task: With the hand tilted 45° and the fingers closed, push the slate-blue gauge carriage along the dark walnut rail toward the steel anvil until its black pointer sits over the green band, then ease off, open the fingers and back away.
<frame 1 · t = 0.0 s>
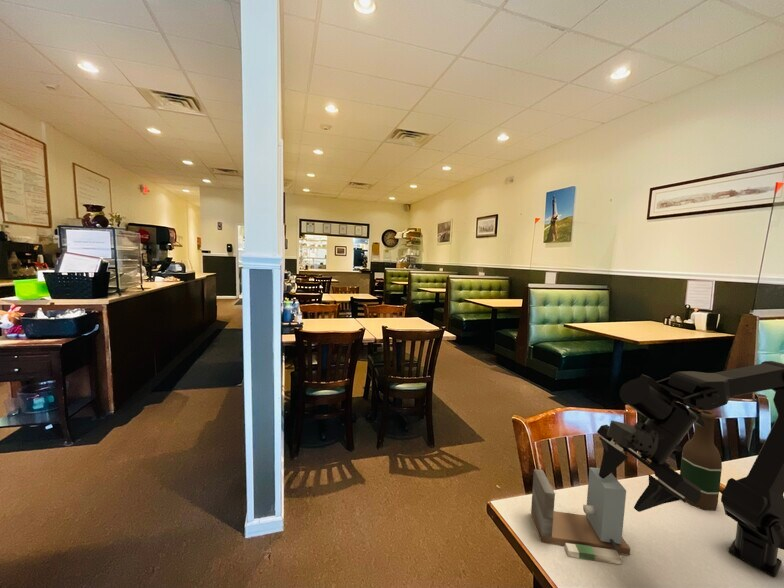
hand: (617, 492, 63), 15 cm above the table, tool tilted 35°, fingers open, 9 cm apart
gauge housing: (575, 532, 71), on the table
beer bottle: (696, 500, 82), on the table
gauge carriage: (602, 506, 68), point 8 cm above the table, slide at 0.0 cm
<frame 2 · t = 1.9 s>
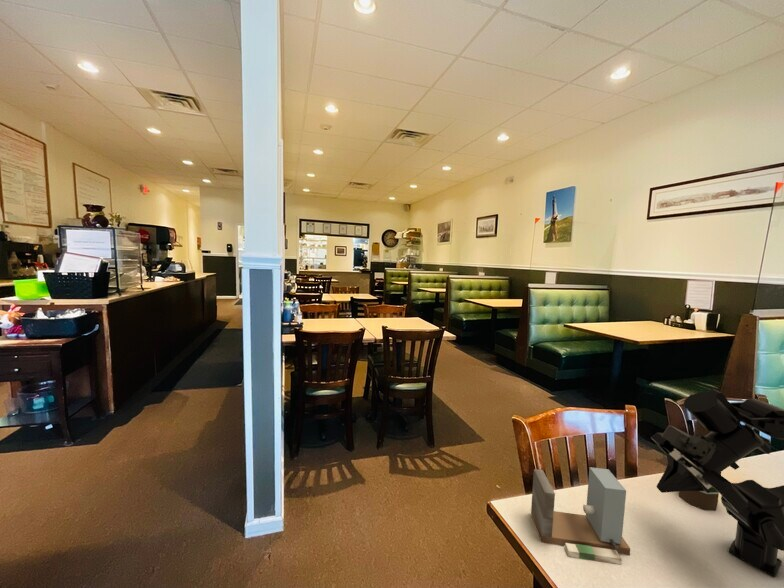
hand: (658, 489, 67), 13 cm above the table, tool tilted 45°, fingers closed
nothing on the table moved.
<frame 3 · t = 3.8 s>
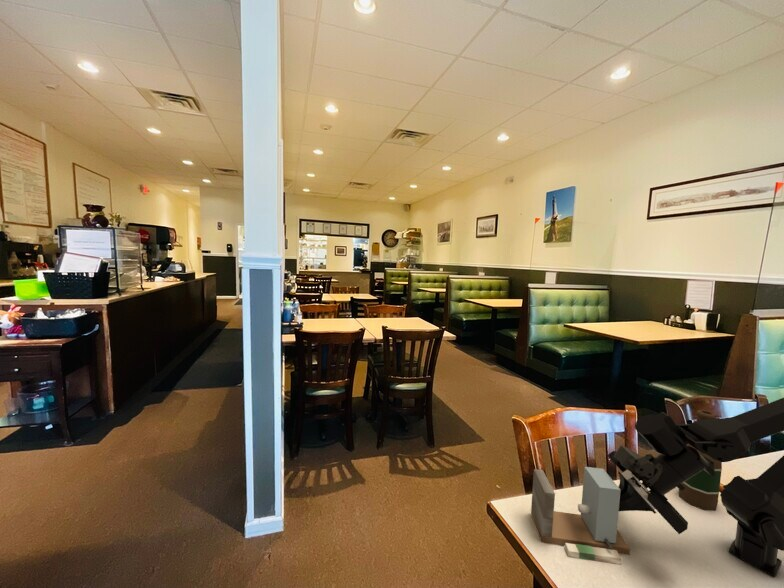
hand: (610, 508, 69), 7 cm above the table, tool tilted 45°, fingers closed, pressing on gauge carriage
gauge carriage: (596, 506, 68), point 8 cm above the table, slide at 1.1 cm, touching gripper
everything else where it was.
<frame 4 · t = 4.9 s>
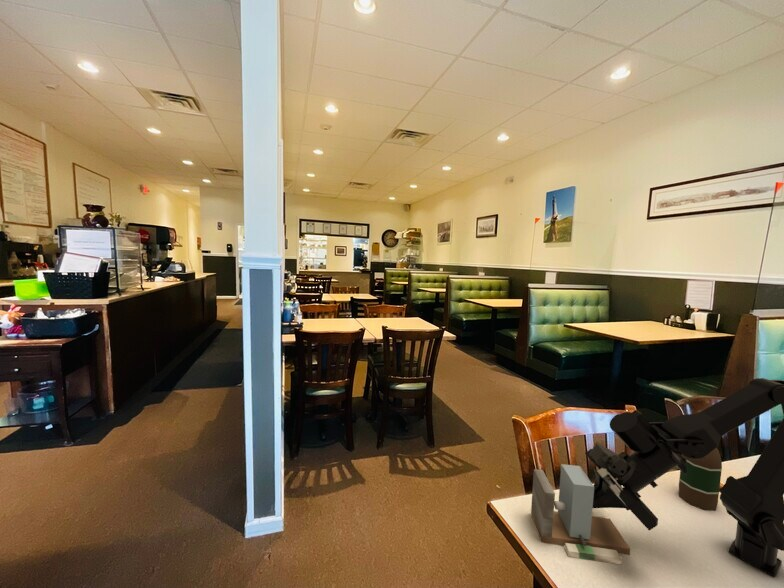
hand: (585, 505, 70), 7 cm above the table, tool tilted 45°, fingers closed, pressing on gauge carriage
gauge carriage: (572, 503, 69), point 8 cm above the table, slide at 6.2 cm, touching gripper
everything else where it was.
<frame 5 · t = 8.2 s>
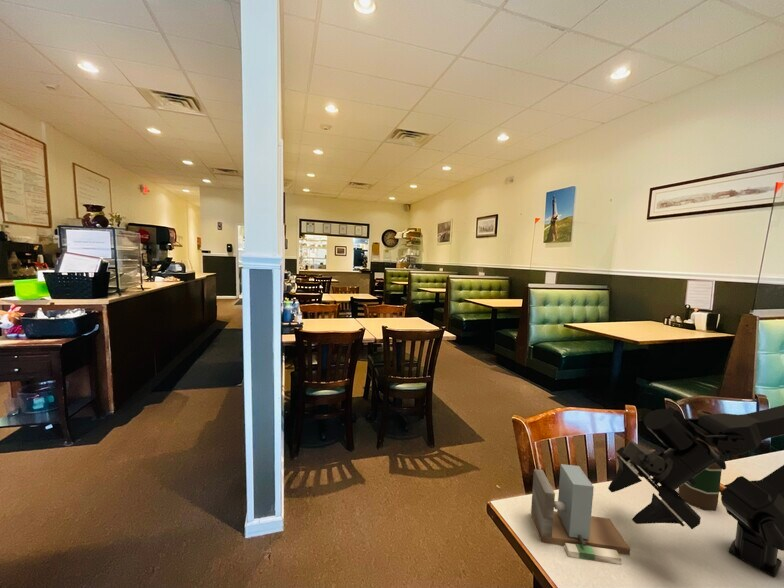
hand: (621, 505, 69), 8 cm above the table, tool tilted 45°, fingers open, 9 cm apart
gauge carriage: (571, 503, 69), point 8 cm above the table, slide at 6.3 cm
everything else where it was.
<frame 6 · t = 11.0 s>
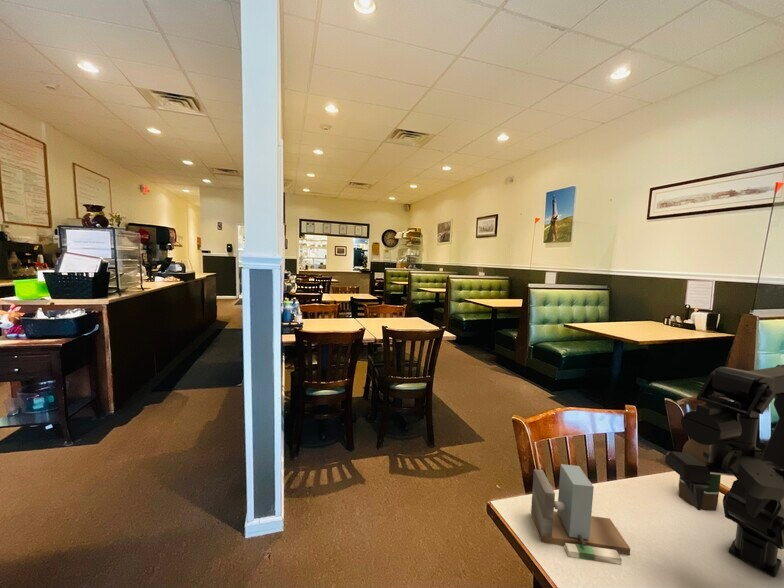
hand: (723, 512, 61), 13 cm above the table, tool pointing down, fingers open, 9 cm apart
nothing on the table moved.
at the end: gauge carriage slide at 6.3 cm; beer bottle moved 0.2 cm from its start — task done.
